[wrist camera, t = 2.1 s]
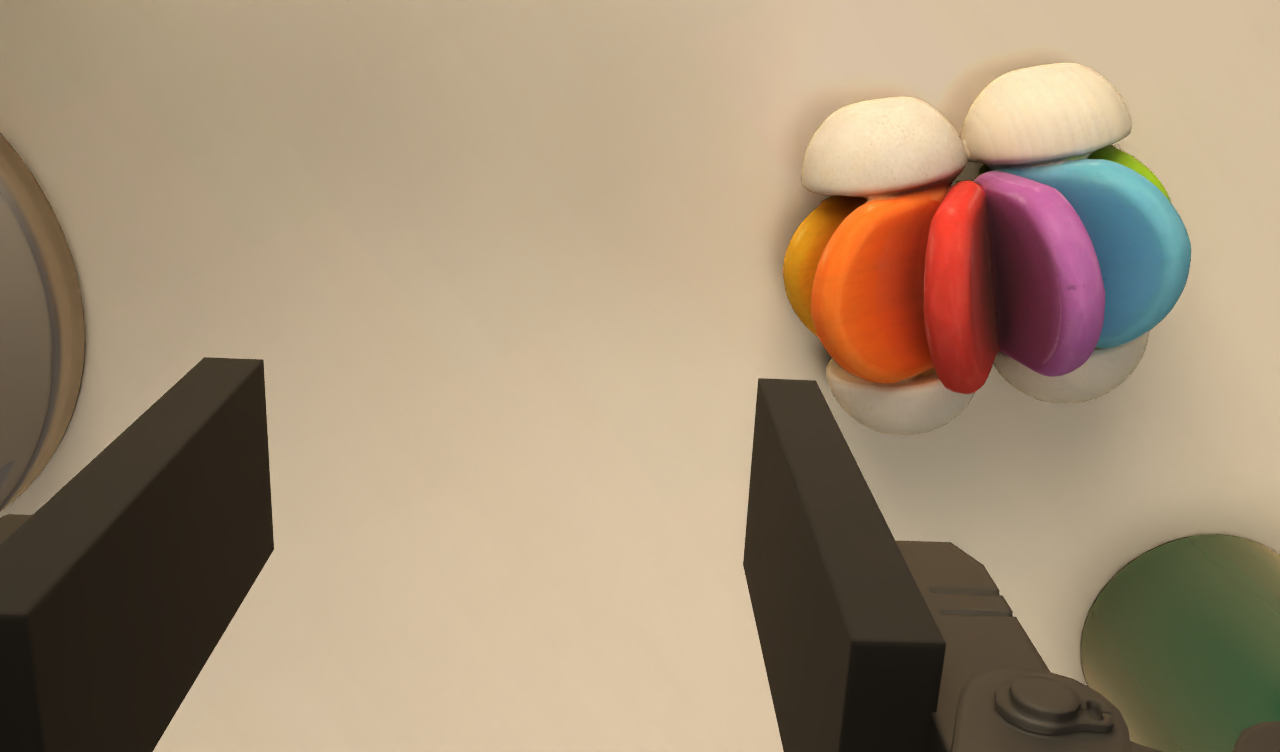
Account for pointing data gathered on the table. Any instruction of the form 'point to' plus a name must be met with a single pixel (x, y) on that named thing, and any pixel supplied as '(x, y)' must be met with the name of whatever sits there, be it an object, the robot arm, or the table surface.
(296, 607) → the table surface
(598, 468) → the table surface
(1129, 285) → the rainbow disc baby rattle
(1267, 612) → the pen cup
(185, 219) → the table surface
